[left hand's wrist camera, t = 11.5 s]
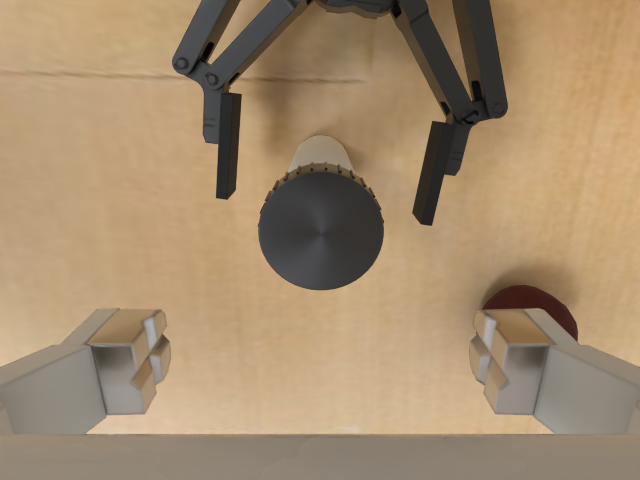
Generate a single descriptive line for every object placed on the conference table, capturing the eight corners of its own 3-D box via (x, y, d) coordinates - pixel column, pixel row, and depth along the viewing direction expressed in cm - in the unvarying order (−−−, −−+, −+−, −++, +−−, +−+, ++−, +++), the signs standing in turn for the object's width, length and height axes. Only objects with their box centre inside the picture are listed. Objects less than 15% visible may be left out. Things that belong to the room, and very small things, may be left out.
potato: (557, 323, 39) (606, 371, 32) (480, 354, 40) (511, 407, 33) (534, 259, 36) (582, 296, 30) (452, 295, 38) (481, 338, 31)
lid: (241, 195, 19) (232, 208, 17) (347, 139, 18) (350, 145, 16) (298, 289, 20) (295, 310, 18) (397, 242, 19) (406, 259, 17)
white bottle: (283, 151, 33) (247, 209, 17) (332, 124, 33) (345, 157, 16) (309, 199, 35) (299, 295, 19) (357, 175, 34) (391, 251, 18)
